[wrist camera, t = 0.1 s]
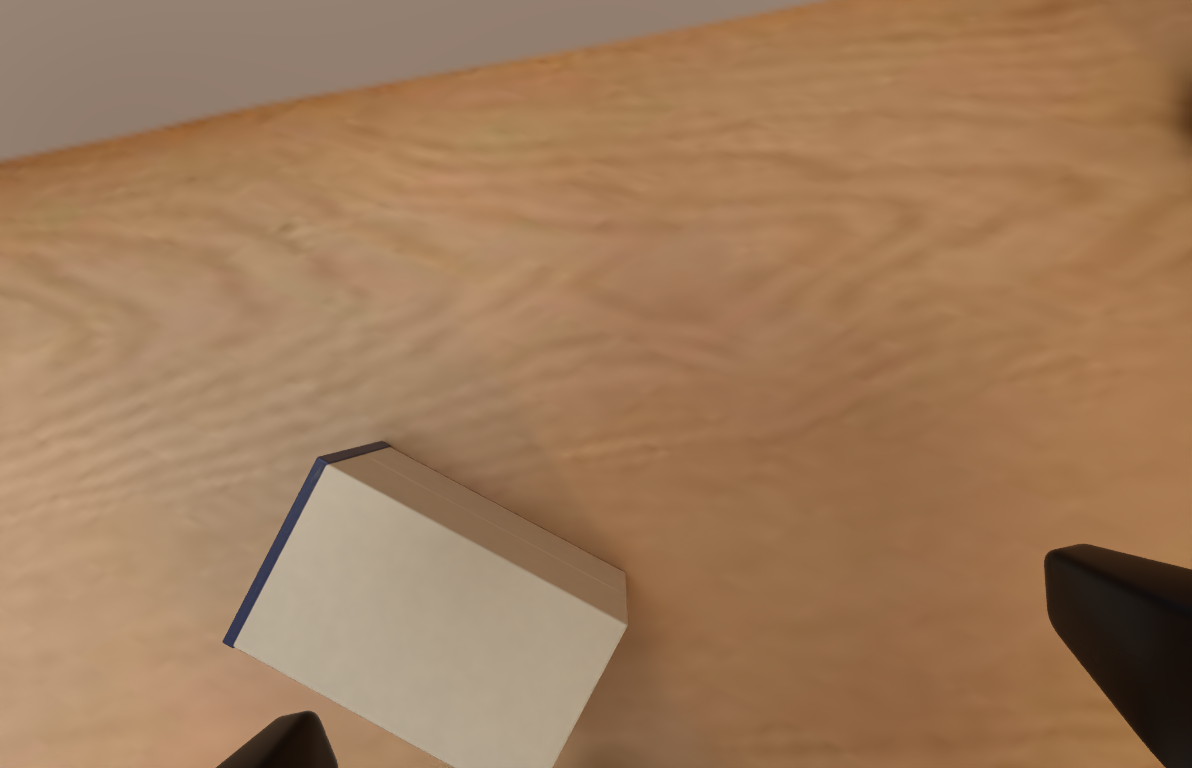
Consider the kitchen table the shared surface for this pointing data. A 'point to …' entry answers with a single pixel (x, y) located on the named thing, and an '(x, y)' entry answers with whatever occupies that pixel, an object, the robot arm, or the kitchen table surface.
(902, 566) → the kitchen table surface
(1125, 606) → the robot arm
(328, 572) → the navy and tan block
